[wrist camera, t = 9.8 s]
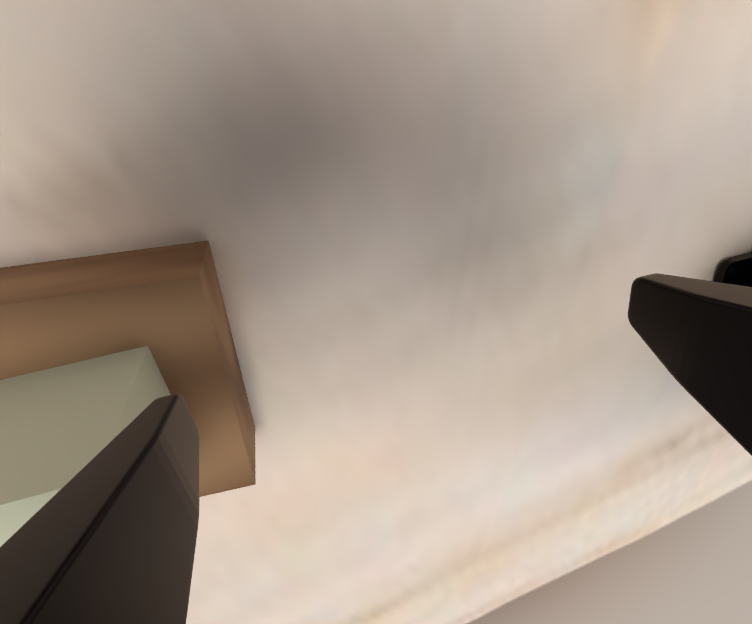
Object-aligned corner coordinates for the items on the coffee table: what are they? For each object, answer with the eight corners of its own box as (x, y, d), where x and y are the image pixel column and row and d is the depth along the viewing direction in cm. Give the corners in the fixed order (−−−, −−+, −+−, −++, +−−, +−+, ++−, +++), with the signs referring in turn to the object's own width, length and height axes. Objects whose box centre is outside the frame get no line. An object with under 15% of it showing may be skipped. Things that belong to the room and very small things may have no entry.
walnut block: (254, 423, 24) (255, 484, 20) (40, 466, 22) (1, 541, 18) (208, 237, 19) (198, 276, 15) (-72, 274, 17) (-154, 327, 13)
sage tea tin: (195, 447, 18) (173, 596, 13) (64, 482, 18) (-14, 652, 13) (148, 345, 16) (97, 479, 11) (-7, 381, 15) (-140, 542, 10)
